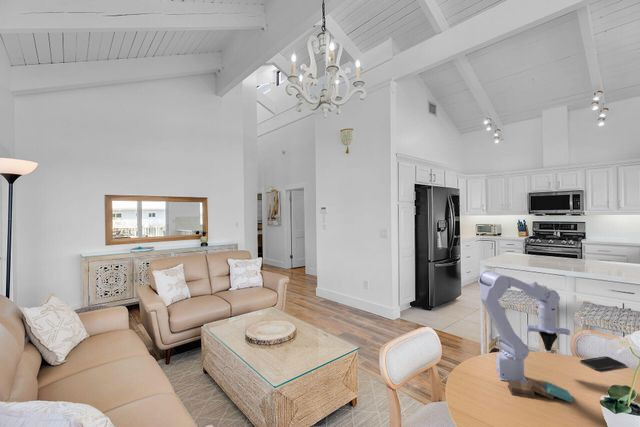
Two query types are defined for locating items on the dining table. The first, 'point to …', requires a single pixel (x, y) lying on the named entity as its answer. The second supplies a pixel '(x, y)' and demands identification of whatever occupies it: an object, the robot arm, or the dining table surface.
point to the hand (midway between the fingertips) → (547, 349)
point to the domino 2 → (520, 393)
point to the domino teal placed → (558, 392)
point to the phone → (602, 363)
